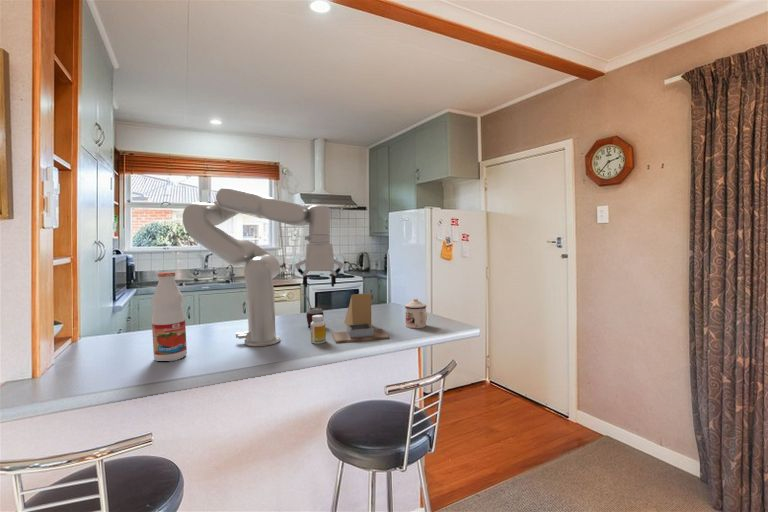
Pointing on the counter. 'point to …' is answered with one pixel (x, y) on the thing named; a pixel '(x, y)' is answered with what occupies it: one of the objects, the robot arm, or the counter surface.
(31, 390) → the counter surface
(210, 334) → the counter surface
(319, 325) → the supplement bottle
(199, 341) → the counter surface
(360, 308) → the sandwich container
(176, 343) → the fruit juice
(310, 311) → the mate gourd
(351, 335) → the socket board
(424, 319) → the teacup with lid
